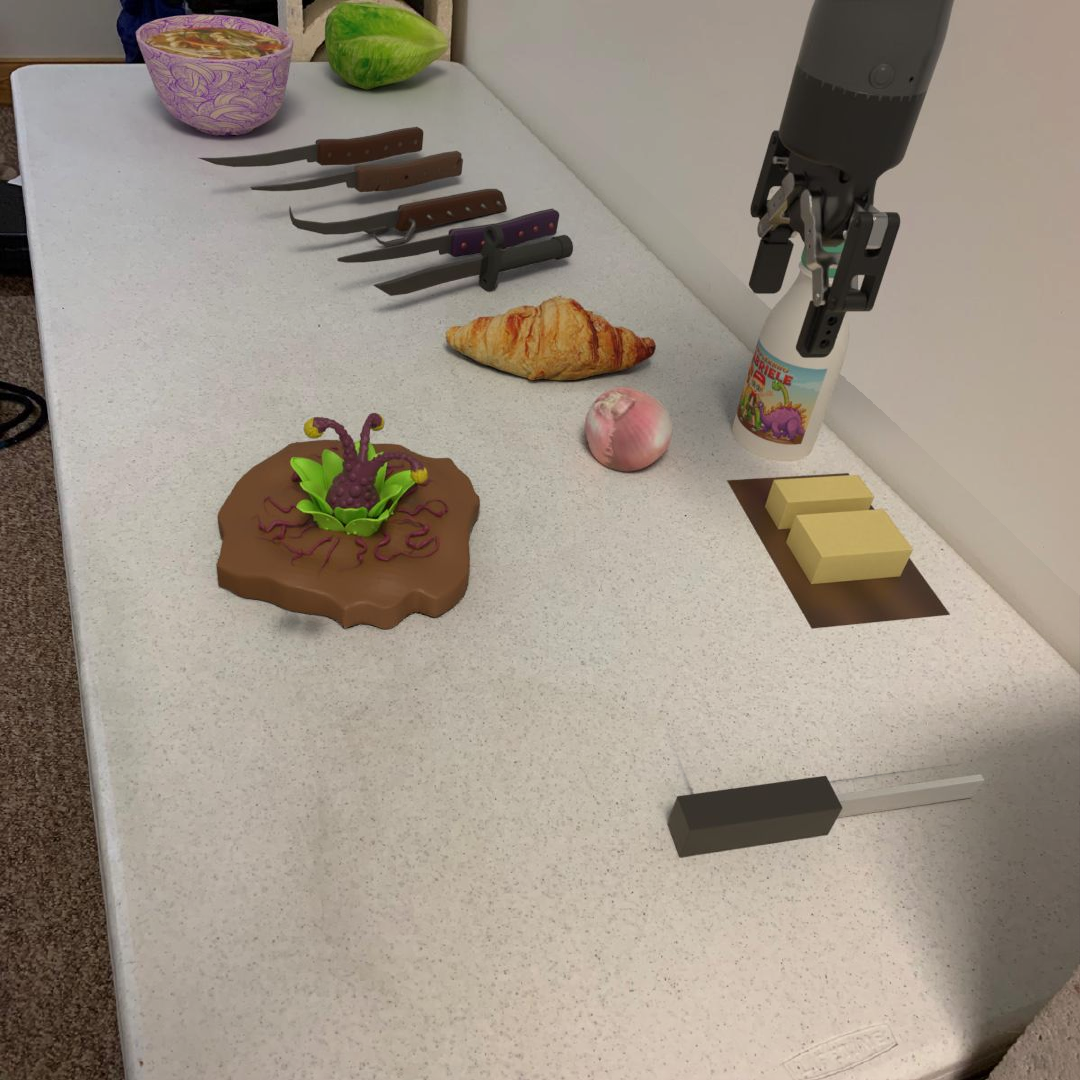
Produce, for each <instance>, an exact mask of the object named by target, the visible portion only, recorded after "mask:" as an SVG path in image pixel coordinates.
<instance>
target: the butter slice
mask: <svg viewBox="0 0 1080 1080" xmlns="http://www.w3.org/2000/svg"><path fill="white" fill-rule="evenodd" d="M874 498H875V495H874V494H873V492H872V491H871V490H870V488H869V487H868V485H867V484H866V483H865V481H864V480H863V479H862V477H861V476H860V474H849V475H846V476H829V477H812V478H796V479H779V480H774V481H773V484H772V487H771V490H770V493H769V496H768V499H767V502H766V505H765V508H766V510H767V511H768V513H769V515H770V516H771V518H772V520H773V521H774V523H775V525H776V526H777V528H778V529H791V528H792V525H793V522H794V519H795V517H796V515H805V514H819V513H833V512H848V511H862V510H869V508H870V506H871V505H872V503H873V501H874Z"/></svg>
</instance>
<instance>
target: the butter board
mask: <svg viewBox="0 0 1080 1080" xmlns="http://www.w3.org/2000/svg"><path fill="white" fill-rule="evenodd" d="M846 475H850V473H849V472H844V473H843V472H841V473H828V474H827V473H825V474H810V475H809V474H808V475H807V474H806V475H791V476H775V477H774V476H773V477H757V478H743V479H742V478H741V479H740V478H739V479H727V480H726V482H727V484H728V485H729V487H730V489H731V491H732V492H733V494H734V495H735V498H736V499H737V501H738V503H739V505H740V506H741V508H742V510H743V512H744V513H745V515H746V517H747V519H748V520H749V522H750V524H751V525H752V527H753V529H754V530H755V533H756V534H757V536H758V538H759V539H760V542H761V543H762V545H763V547H764V548H765V550H766V552H767V554H768V555H769V558H770V559H771V560H772V562H773V565H774V566H775V568H776V569H777V571H778V573H779V575H780V576H781V578H782V580H783V581H784V583H785V584H786V586H787V588H788V590H789V592H790V593H791V596H792V598H794V601H795V603H796V604H797V606H798V607H799V610H800V611H801V613H802V614H803V617H804V618H805V620H806V621H807V623H808V625H809V627H810V629H822V628H832V627H842V626H852V625H862V624H873V623H881V622H882V623H884V622H892V621H893V622H894V621H901V620H912V619H923V618H931V617H933V618H934V617H942V616H950V615H951V613H950V612H949V611H948V610H947V607H946V606H945V605H944V604H943V602H942V601H941V600H940V597H938V595H937V593H936V592H935V591H934V589H933V588H932V587H931V586H930V584H929V583H928V582H927V580H926V579H925V577H924V576H923V574H922V572H921V571H920V570H919V569H918V567H917V566H916V565H915V563H914V562H913V560H912V559H911V558H910V557H909V559H908V561H907V563H906V565H905V567H904V569H903V571H902V574H901V576H899V577H888V578H876V579H865V580H854V581H842V582H831V583H820V584H811V583H810V582H809V580H808V578H807V577H806V575H805V573H804V572H803V570H802V568H801V567H800V565H799V563H798V562H797V560H796V558H795V557H794V555H793V553H792V552H791V550H790V548H789V547H788V545H787V543H786V541H787V538H788V536H789V533H790V530H791V529H778V528H777V526H776V525H775V523H774V521H773V520H772V518H771V516H770V515H769V513H768V511H767V510H766V508H765V505H766V502H767V499H768V496H769V493H770V490H771V487H772V484H773V481H774V480H779V479H796V478H812V477H829V476H846ZM869 510H876V509H875V507H873V505H872V504H871V506H870V508H869Z"/></svg>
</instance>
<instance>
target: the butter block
mask: <svg viewBox="0 0 1080 1080" xmlns="http://www.w3.org/2000/svg"><path fill="white" fill-rule="evenodd" d="M786 543H787V545H788V547H789V548H790V550H791V552H792V553H793V555H794V557H795V558H796V560H797V562H798V563H799V565H800V567H801V568H802V570H803V572H804V573H805V575H806V577H807V578H808V580H809V582H810V583H811V584H820V583H831V582H842V581H854V580H865V579H876V578H888V577H899V576H901V574H902V571H903V569H904V567H905V565H906V563H907V561H908V559H909V558H910V557H911V555H912V553H913V551H914V549H913V546H911V544H910V542H908V540H907V538H905V536H904V535H903V533H902V531H901V530H900V529H899V528H898V526H897V525H896V524H895V522H894V521H893V519H891V517H890V515H889V514H888V513H887V511H886V509H884V508H879V509H878V508H877V509H875V510H862V511H848V512H833V513H819V514H805V515H796V517H795V519H794V522H793V525H792V528H791V530H790V533H789V536H788V538H787V541H786Z"/></svg>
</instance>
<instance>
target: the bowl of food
mask: <svg viewBox="0 0 1080 1080" xmlns="http://www.w3.org/2000/svg"><path fill="white" fill-rule="evenodd" d="M135 36H136V42H137V44H138V47H139V50H140V52H141V55H142V57H143V60H144V63H145V66H146V69H147V71H148V75H149V77H150V79H151V83H152V85H153V87H154V90H155V92H156V94H157V96H158V99H159V101H160V103H161V104H162V105H163V107H164V108H165V110H167V111H168V113H170V114H171V115H172V116H173V117H174V118H175V119H177V120H179V121H181V122H182V123H184V124H186V125H189V126H191V127H193V128H195V129H196V130H198V131H199V132H201V133H204V134H207V135H211V136H218V135H236V136H242V135H246V134H248V133H251V132H252V131H254V129H255V128H259V127H260V126H263V125H264V124H265V123H267V122H268V121H270V120H272V119H273V118H275V116H276V115H277V113H278V112H279V110H280V108H281V106H282V105H283V102H284V98H285V95H286V91H287V85H288V79H289V72H290V67H291V62H292V56H293V51H294V50H293V49H294V43H295V42H294V39H293V38H292V36H291V34H290V33H288V32H287V31H285V29H282V28H281V27H278V26H277V25H274V24H270V23H267V22H264V21H260V20H255V19H251V18H247V17H240V16H231V15H223V14H222V15H221V14H187V15H174V16H173V15H172V16H168V17H162V18H158V19H154V20H152V21H149V22H146V23H144V24H141V26H140V27H139V28H138V29H137V30H136V31H135Z"/></svg>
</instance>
